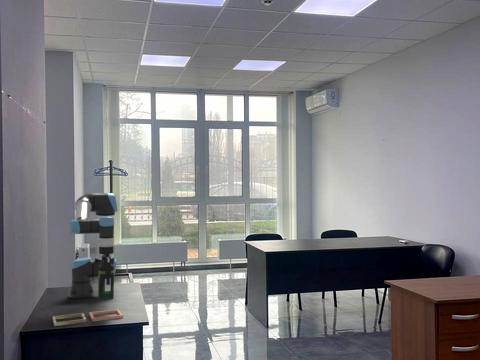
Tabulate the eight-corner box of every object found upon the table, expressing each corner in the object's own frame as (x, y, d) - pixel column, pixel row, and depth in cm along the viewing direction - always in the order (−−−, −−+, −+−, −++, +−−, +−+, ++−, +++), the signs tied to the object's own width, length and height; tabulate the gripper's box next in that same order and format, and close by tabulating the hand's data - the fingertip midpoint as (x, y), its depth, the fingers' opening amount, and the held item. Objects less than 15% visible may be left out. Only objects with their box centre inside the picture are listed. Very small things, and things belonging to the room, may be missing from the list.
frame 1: (52, 319, 236) (52, 316, 236) (83, 315, 242) (83, 313, 242) (54, 326, 224) (54, 322, 224) (86, 322, 230) (86, 319, 230)
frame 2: (89, 315, 243) (89, 312, 243) (118, 312, 250) (118, 309, 250) (92, 321, 232) (92, 318, 232) (122, 318, 238) (122, 315, 238)
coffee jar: (114, 300, 237) (114, 264, 238) (98, 301, 235) (98, 264, 235) (113, 296, 247) (113, 261, 247) (97, 297, 244) (98, 262, 245)
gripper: (96, 244, 250) (95, 286, 249) (102, 248, 230) (102, 294, 230) (110, 243, 253) (109, 284, 252) (117, 247, 233) (117, 292, 233)
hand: (106, 289), depth 241 cm, fingers closed on coffee jar, 9 cm apart
